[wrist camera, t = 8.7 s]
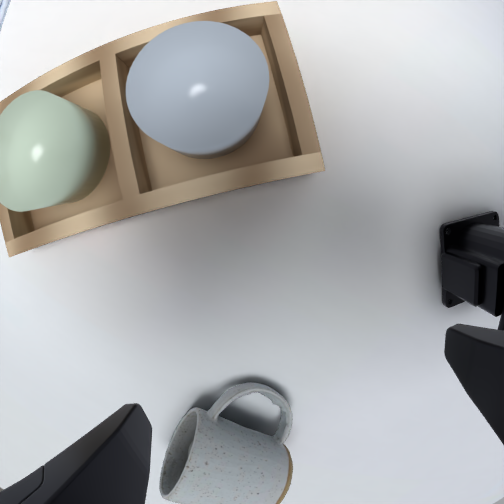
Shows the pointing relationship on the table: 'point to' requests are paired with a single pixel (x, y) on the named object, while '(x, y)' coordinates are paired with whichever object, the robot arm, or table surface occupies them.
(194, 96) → the pale blue rounded cylinder
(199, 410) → the ceramic mug
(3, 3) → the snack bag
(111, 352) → the table surface
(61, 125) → the sage green cylinder
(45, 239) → the divided wooden tray
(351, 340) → the table surface
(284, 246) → the table surface
